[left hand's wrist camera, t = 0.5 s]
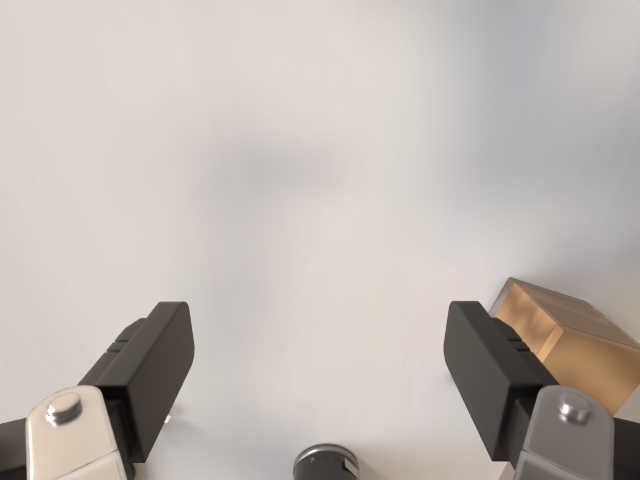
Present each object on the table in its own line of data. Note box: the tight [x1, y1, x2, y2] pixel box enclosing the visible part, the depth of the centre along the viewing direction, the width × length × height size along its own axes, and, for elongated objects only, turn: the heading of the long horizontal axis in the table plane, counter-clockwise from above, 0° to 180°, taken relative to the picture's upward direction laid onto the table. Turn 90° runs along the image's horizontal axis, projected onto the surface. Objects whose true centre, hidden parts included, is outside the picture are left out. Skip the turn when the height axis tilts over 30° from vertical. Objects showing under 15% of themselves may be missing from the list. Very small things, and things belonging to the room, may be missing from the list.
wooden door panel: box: [536, 324, 640, 417], centre depth 34 cm, size 15×10×8 cm
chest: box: [488, 277, 640, 355], centre depth 42 cm, size 14×10×9 cm
